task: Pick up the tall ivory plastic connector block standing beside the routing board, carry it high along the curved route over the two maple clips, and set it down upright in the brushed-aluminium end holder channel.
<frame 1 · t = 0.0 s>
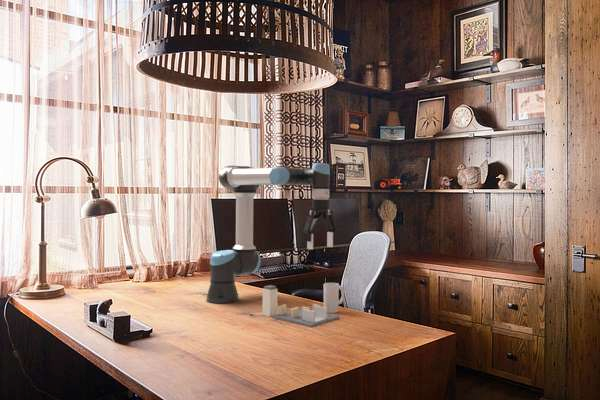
hand: (320, 248, 214), 28 cm above the table, fingers open, 13 cm apart
mug: (334, 311, 217), on the table
route board: (305, 318, 204), on the table
connector: (269, 314, 210), on the table
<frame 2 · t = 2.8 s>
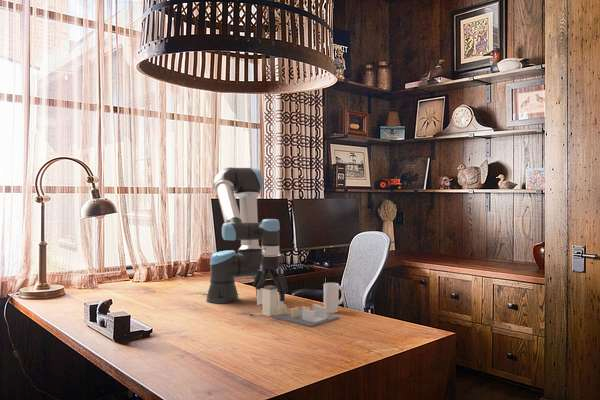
hand: (270, 306, 210), 3 cm above the table, fingers open, 12 cm apart
nothing on the table moved.
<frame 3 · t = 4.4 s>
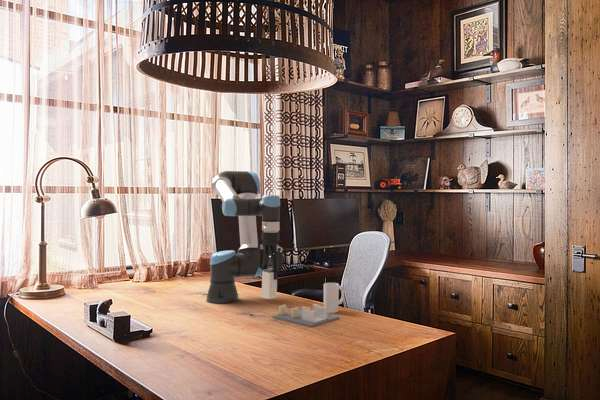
hand: (269, 285, 210), 12 cm above the table, fingers closed on connector, 4 cm apart
connector: (269, 297, 210), point 7 cm above the table, touching gripper
everything else where it was.
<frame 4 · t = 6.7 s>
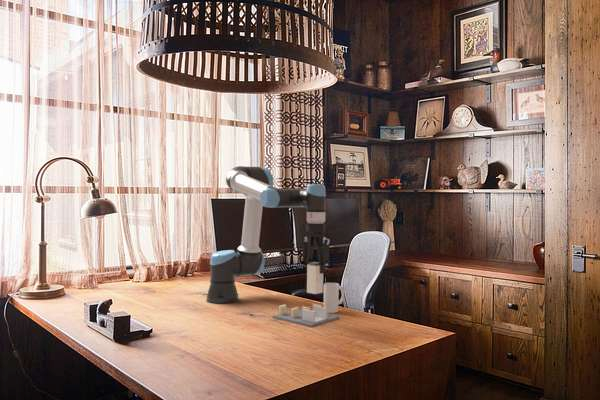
hand: (315, 280, 198), 17 cm above the table, fingers closed on connector, 4 cm apart
connector: (314, 292, 198), point 12 cm above the table, touching gripper
everything else where it was.
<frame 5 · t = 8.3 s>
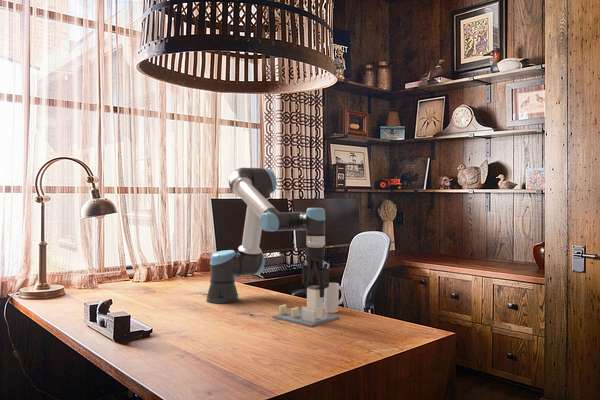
hand: (315, 304, 198), 7 cm above the table, fingers closed on connector, 4 cm apart
connector: (314, 316, 198), point 2 cm above the table, touching gripper
everything else where it was.
when the fingers open (5 cm above the table, at t = 9.2 s): connector stays where it is, resting on route board.
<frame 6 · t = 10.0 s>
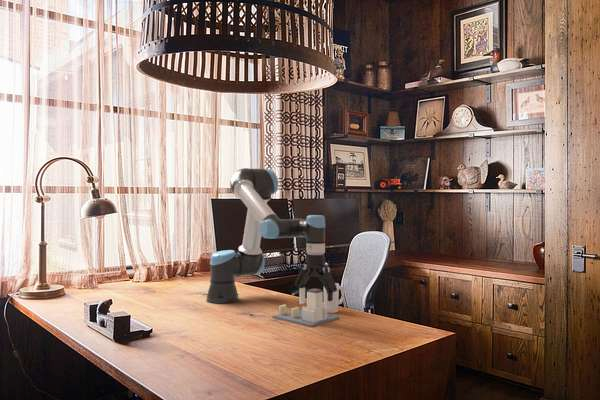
hand: (314, 306, 198), 6 cm above the table, fingers open, 13 cm apart
connector: (314, 319, 198), point 1 cm above the table, touching route board
everything else where it was.
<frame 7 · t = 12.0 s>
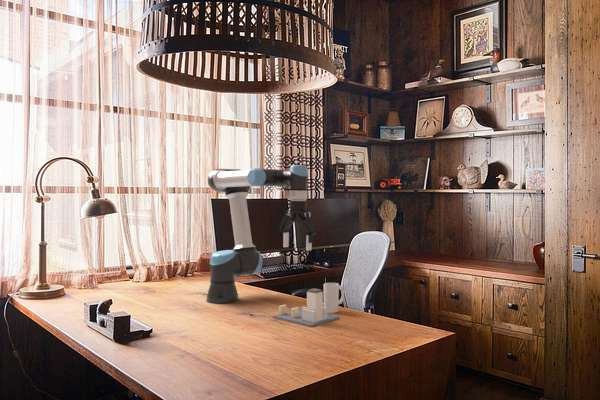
hand: (297, 248, 217), 27 cm above the table, fingers open, 13 cm apart
nothing on the table moved.
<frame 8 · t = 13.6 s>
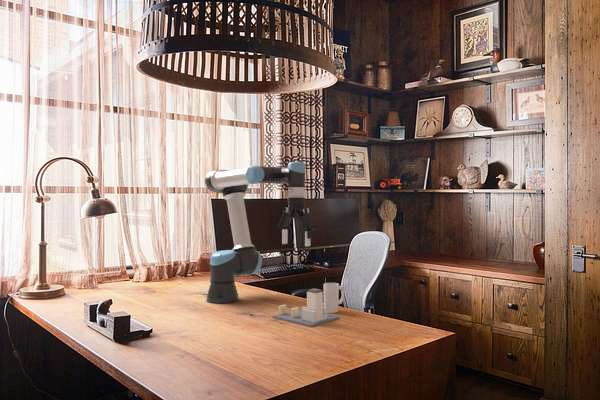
hand: (296, 245, 218), 29 cm above the table, fingers open, 13 cm apart
nothing on the table moved.
at the end: connector 0.4 cm from the target spot on the route board, point 1.1 cm above the route board's base; connector tilted 0°; the gripper is holding nothing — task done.
